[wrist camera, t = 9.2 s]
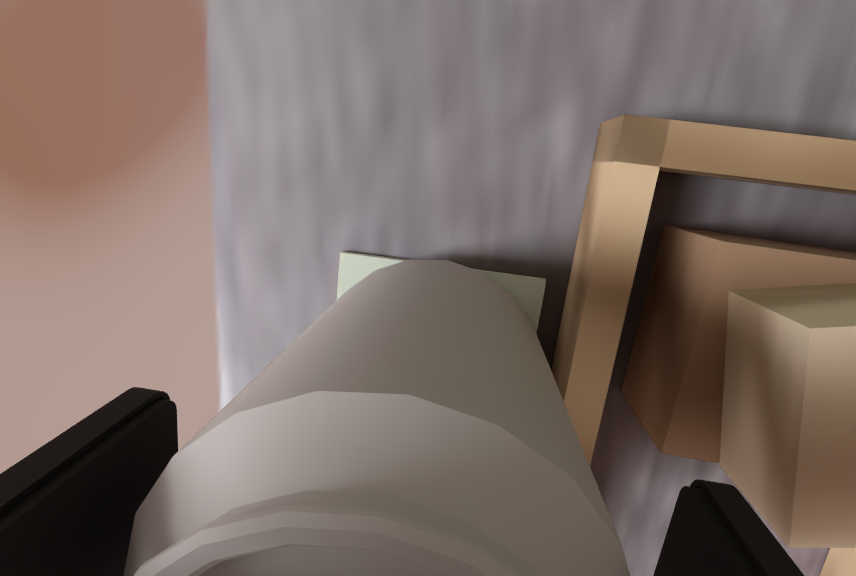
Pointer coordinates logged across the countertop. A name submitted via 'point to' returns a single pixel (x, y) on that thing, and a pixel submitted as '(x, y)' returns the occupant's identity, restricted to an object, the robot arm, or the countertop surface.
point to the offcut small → (793, 409)
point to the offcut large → (706, 327)
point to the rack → (625, 226)
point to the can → (388, 450)
